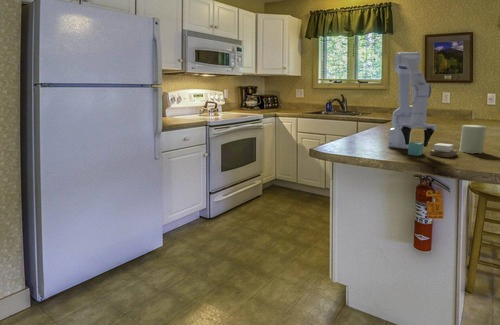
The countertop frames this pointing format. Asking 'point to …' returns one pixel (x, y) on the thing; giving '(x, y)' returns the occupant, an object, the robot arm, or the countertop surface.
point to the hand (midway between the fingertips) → (416, 145)
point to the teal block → (415, 148)
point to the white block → (443, 147)
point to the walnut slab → (443, 153)
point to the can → (472, 138)
